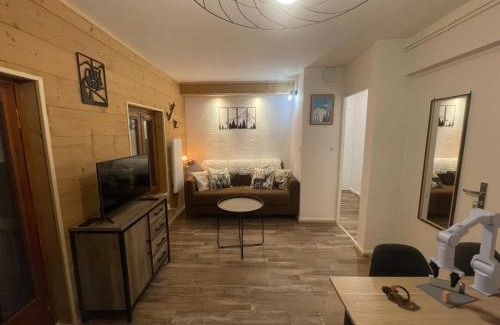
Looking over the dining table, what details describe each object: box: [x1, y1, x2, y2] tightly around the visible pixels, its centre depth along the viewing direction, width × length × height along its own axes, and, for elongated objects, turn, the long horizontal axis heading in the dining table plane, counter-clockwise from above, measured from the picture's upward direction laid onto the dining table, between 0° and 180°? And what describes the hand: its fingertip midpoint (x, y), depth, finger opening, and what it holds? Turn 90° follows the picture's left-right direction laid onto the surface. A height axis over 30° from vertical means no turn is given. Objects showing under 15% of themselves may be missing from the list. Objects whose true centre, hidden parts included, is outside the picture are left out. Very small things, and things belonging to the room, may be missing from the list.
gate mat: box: [416, 282, 477, 309], centre depth 114 cm, size 18×16×1 cm
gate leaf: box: [428, 274, 460, 292], centre depth 117 cm, size 12×1×5 cm, turn 54°
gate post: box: [459, 281, 466, 295], centre depth 113 cm, size 2×2×6 cm
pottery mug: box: [381, 284, 411, 307], centre depth 111 cm, size 12×10×8 cm
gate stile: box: [442, 290, 451, 303], centre depth 108 cm, size 3×2×5 cm, turn 104°
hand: (444, 281), depth 108 cm, fingers open, 7 cm apart
